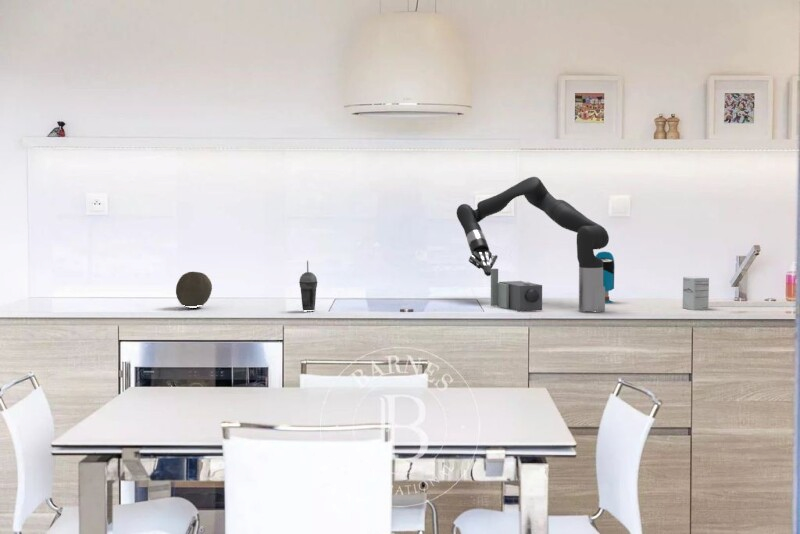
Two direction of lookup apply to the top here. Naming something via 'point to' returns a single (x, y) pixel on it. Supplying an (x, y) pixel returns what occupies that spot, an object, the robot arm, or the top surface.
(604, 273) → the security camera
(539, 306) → the block
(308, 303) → the beverage cup
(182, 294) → the dark brown ball
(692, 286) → the supplement box
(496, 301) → the side door
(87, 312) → the top surface
